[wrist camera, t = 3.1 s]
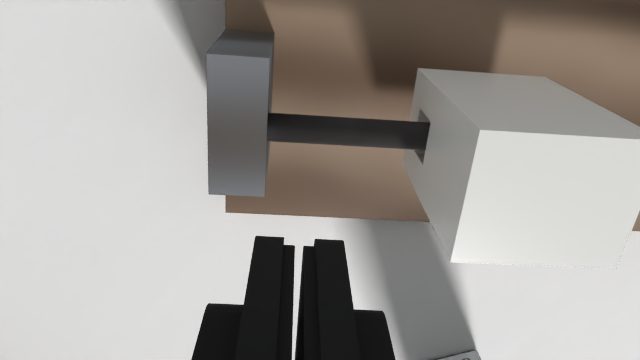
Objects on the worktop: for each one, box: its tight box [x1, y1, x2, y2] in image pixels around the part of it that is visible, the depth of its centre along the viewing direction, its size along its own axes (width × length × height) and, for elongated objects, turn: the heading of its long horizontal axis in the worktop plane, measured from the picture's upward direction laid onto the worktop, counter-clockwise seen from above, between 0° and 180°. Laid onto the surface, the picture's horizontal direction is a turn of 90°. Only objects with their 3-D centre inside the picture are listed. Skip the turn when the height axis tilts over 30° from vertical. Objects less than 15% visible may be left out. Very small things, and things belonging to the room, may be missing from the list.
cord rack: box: [206, 0, 640, 231], centre depth 21 cm, size 12×30×8 cm, turn 85°
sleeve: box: [402, 68, 640, 269], centre depth 17 cm, size 4×5×7 cm
